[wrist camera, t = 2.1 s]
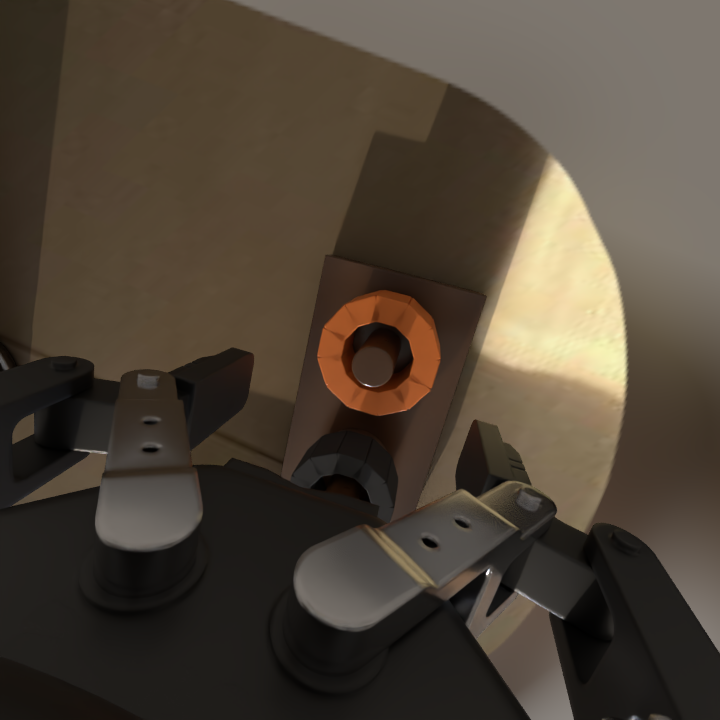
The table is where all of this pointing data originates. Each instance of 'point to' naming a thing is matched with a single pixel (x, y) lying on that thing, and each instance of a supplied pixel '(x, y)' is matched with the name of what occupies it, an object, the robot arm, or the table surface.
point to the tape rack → (383, 375)
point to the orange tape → (402, 385)
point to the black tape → (351, 467)
